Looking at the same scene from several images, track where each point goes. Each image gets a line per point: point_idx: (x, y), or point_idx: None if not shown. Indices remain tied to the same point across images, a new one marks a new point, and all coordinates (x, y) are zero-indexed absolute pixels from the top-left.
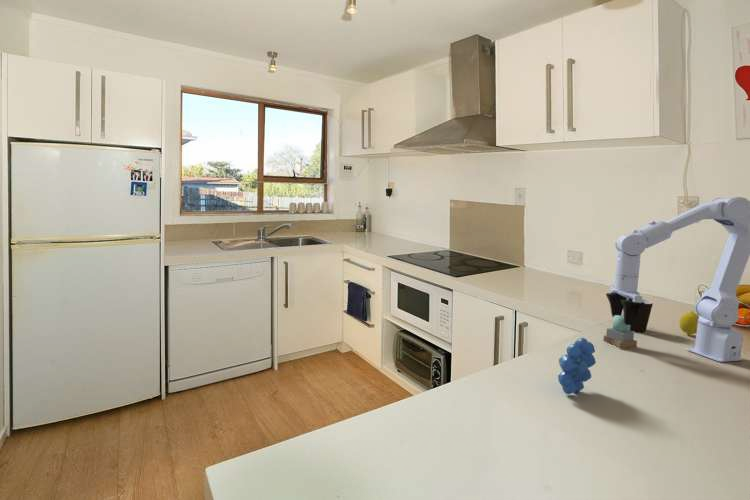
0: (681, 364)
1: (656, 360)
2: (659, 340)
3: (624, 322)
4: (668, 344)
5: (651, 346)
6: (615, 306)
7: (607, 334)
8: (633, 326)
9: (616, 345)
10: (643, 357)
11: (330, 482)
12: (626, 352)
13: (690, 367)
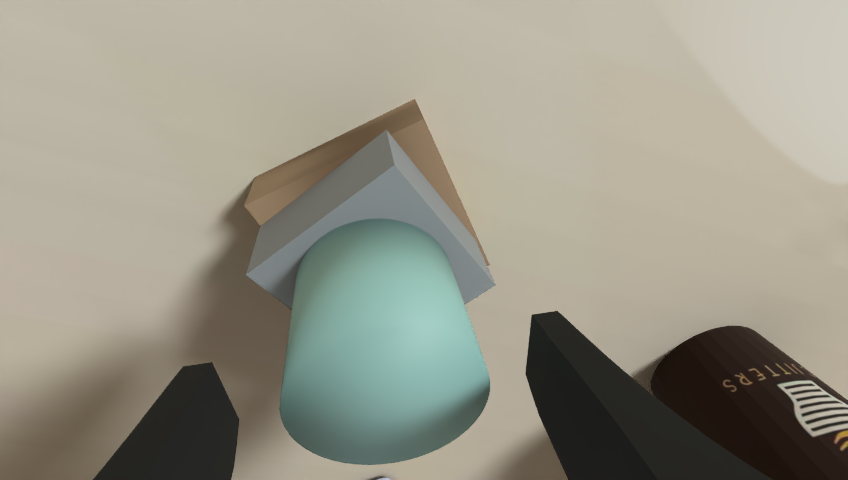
0: (108, 419)
1: (97, 333)
2: (523, 421)
3: (204, 374)
4: (462, 437)
5: None
6: (608, 466)
7: (378, 147)
8: (688, 380)
9: (282, 170)
10: (115, 280)
11: None
12: (178, 202)
13: (79, 440)
